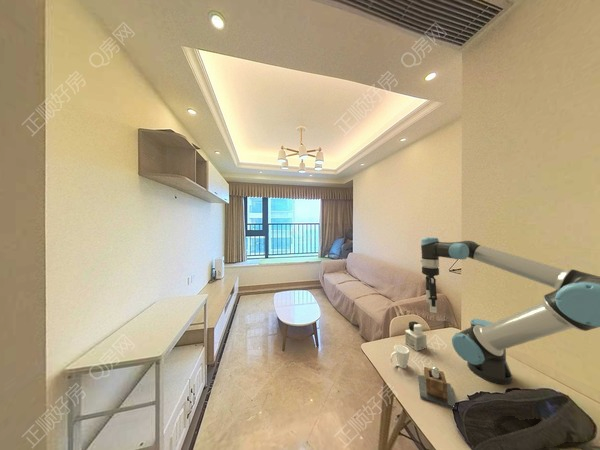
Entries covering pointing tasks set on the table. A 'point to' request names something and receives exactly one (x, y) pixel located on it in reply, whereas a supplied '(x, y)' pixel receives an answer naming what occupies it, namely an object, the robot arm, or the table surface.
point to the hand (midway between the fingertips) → (431, 307)
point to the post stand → (433, 398)
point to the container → (415, 336)
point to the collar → (435, 383)
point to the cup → (401, 355)
